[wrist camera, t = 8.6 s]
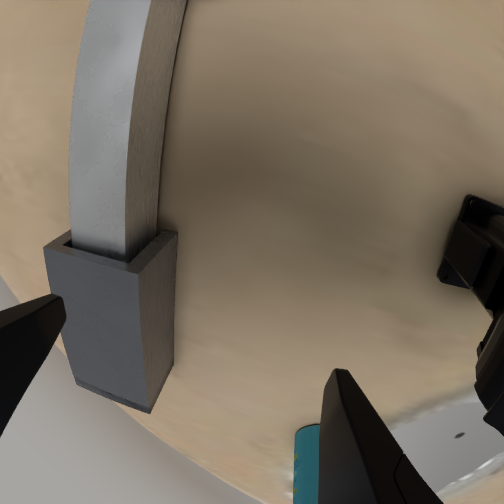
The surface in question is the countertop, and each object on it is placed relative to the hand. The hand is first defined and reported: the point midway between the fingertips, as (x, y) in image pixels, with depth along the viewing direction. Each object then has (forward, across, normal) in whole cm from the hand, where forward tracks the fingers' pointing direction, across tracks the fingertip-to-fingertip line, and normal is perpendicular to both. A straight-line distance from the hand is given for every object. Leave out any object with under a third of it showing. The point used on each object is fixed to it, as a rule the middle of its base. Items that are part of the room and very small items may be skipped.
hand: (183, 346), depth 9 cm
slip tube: (+12, +8, -6) cm, 16 cm away
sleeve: (+12, +8, +8) cm, 17 cm away
